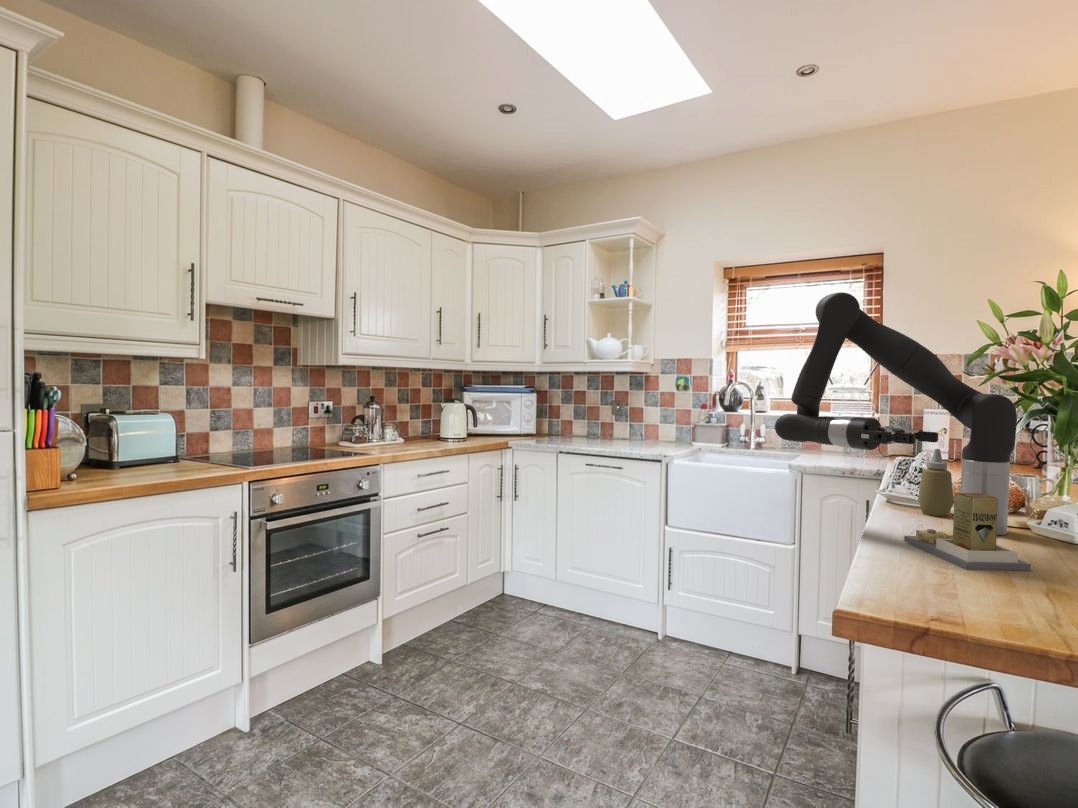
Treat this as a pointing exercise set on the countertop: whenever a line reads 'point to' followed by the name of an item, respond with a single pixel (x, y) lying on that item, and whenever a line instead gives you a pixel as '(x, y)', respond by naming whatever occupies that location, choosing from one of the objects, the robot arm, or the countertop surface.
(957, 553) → the square socket
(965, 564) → the gear board
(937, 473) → the squeeze bottle
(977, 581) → the countertop surface
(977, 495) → the shoe polish box
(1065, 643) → the countertop surface
